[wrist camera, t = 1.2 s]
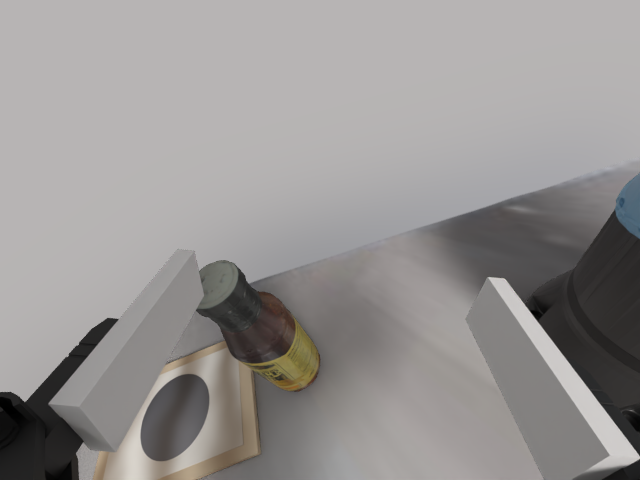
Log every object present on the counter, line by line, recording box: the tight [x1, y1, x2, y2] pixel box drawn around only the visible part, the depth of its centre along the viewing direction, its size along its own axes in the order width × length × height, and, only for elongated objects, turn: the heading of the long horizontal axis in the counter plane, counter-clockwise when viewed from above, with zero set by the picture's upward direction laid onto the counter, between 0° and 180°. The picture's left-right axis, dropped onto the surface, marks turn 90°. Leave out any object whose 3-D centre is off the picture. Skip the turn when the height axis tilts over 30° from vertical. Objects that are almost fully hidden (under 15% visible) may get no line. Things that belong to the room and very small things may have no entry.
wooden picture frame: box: [93, 341, 261, 480], centre depth 34 cm, size 20×14×1 cm
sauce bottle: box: [196, 260, 320, 391], centre depth 27 cm, size 7×6×20 cm
